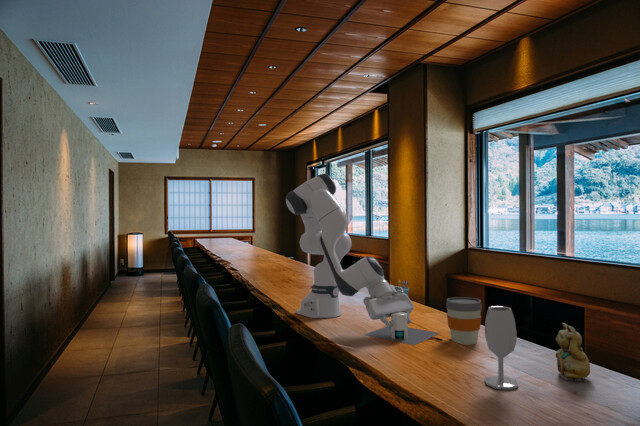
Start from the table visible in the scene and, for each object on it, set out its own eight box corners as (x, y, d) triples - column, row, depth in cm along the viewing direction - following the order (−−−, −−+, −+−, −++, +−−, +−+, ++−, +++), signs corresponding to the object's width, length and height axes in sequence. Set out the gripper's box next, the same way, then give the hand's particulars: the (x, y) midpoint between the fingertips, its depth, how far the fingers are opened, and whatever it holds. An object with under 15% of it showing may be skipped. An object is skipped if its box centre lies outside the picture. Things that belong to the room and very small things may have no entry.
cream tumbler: (388, 338, 170) (388, 314, 170) (396, 334, 175) (396, 311, 175) (402, 340, 166) (401, 316, 166) (410, 337, 171) (410, 313, 171)
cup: (416, 313, 212) (415, 281, 212) (400, 314, 210) (400, 282, 210) (404, 307, 226) (403, 277, 226) (389, 308, 224) (389, 277, 224)
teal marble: (394, 337, 171) (393, 329, 170) (398, 336, 173) (398, 328, 173) (401, 339, 169) (400, 331, 169) (405, 337, 171) (405, 329, 171)
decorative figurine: (551, 371, 135) (550, 320, 135) (581, 371, 134) (580, 320, 134) (565, 383, 125) (565, 329, 125) (597, 384, 124) (596, 329, 124)
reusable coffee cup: (444, 344, 163) (444, 302, 163) (448, 335, 175) (447, 296, 175) (481, 347, 158) (481, 304, 158) (483, 338, 170) (482, 298, 170)
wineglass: (478, 379, 129) (477, 305, 129) (508, 377, 130) (507, 304, 130) (493, 391, 120) (491, 312, 120) (524, 389, 121) (523, 311, 121)
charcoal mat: (363, 336, 175) (363, 334, 175) (391, 325, 191) (391, 324, 190) (414, 346, 161) (414, 345, 161) (440, 334, 176) (440, 333, 176)
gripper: (365, 292, 171) (382, 324, 163) (405, 287, 182) (423, 316, 174) (358, 302, 175) (374, 333, 166) (398, 296, 186) (415, 325, 177)
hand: (400, 324), depth 170 cm, fingers open, 8 cm apart
